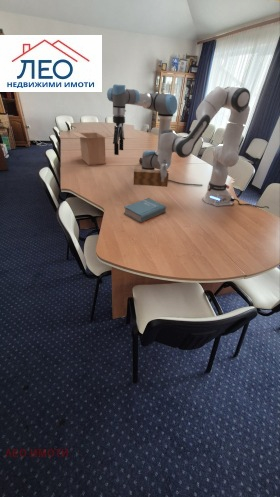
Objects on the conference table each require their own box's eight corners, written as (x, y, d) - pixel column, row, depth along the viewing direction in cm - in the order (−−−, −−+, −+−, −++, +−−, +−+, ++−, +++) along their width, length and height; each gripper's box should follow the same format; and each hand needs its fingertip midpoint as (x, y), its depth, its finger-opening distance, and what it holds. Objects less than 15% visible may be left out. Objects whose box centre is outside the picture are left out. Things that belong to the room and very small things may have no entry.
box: (116, 165, 229) (116, 136, 213) (83, 168, 214) (80, 137, 198) (102, 154, 259) (101, 128, 243) (71, 156, 244) (68, 129, 228)
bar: (133, 184, 151) (133, 171, 146) (134, 181, 156) (134, 168, 150) (167, 186, 151) (168, 173, 145) (166, 183, 155) (168, 170, 149)
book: (148, 204, 158) (148, 197, 155) (165, 212, 149) (166, 206, 146) (124, 213, 145) (124, 206, 142) (141, 223, 136) (141, 216, 133)
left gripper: (120, 118, 125) (120, 157, 138) (129, 114, 145) (128, 148, 158) (107, 117, 126) (108, 156, 139) (118, 113, 146) (117, 147, 158)
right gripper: (170, 163, 134) (167, 185, 142) (168, 154, 150) (166, 175, 159) (159, 162, 134) (157, 184, 142) (159, 154, 151) (157, 174, 159)
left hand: (118, 152), depth 148 cm, fingers open, 13 cm apart
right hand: (162, 179), depth 151 cm, fingers closed on bar, 5 cm apart
